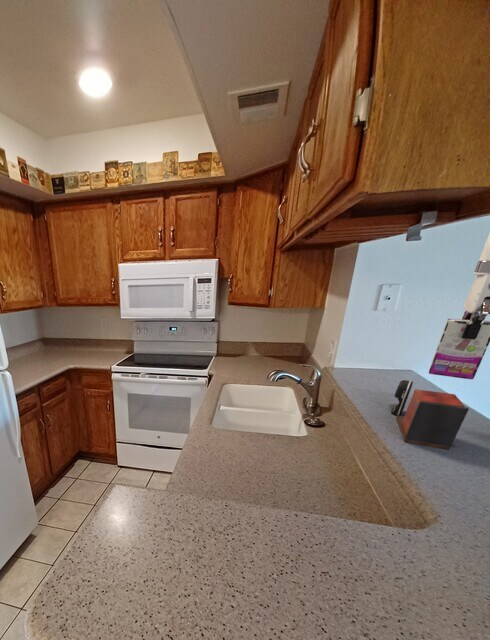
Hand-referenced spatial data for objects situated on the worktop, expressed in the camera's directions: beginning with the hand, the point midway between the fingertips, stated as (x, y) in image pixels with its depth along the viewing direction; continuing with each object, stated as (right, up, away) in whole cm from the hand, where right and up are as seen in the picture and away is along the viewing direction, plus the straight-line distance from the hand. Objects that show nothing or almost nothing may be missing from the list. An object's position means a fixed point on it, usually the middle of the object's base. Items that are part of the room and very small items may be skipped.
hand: (465, 336), depth 97 cm
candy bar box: (0, -11, +6) cm, 12 cm away
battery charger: (-7, -21, +20) cm, 30 cm away
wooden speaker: (-9, -29, +6) cm, 31 cm away
